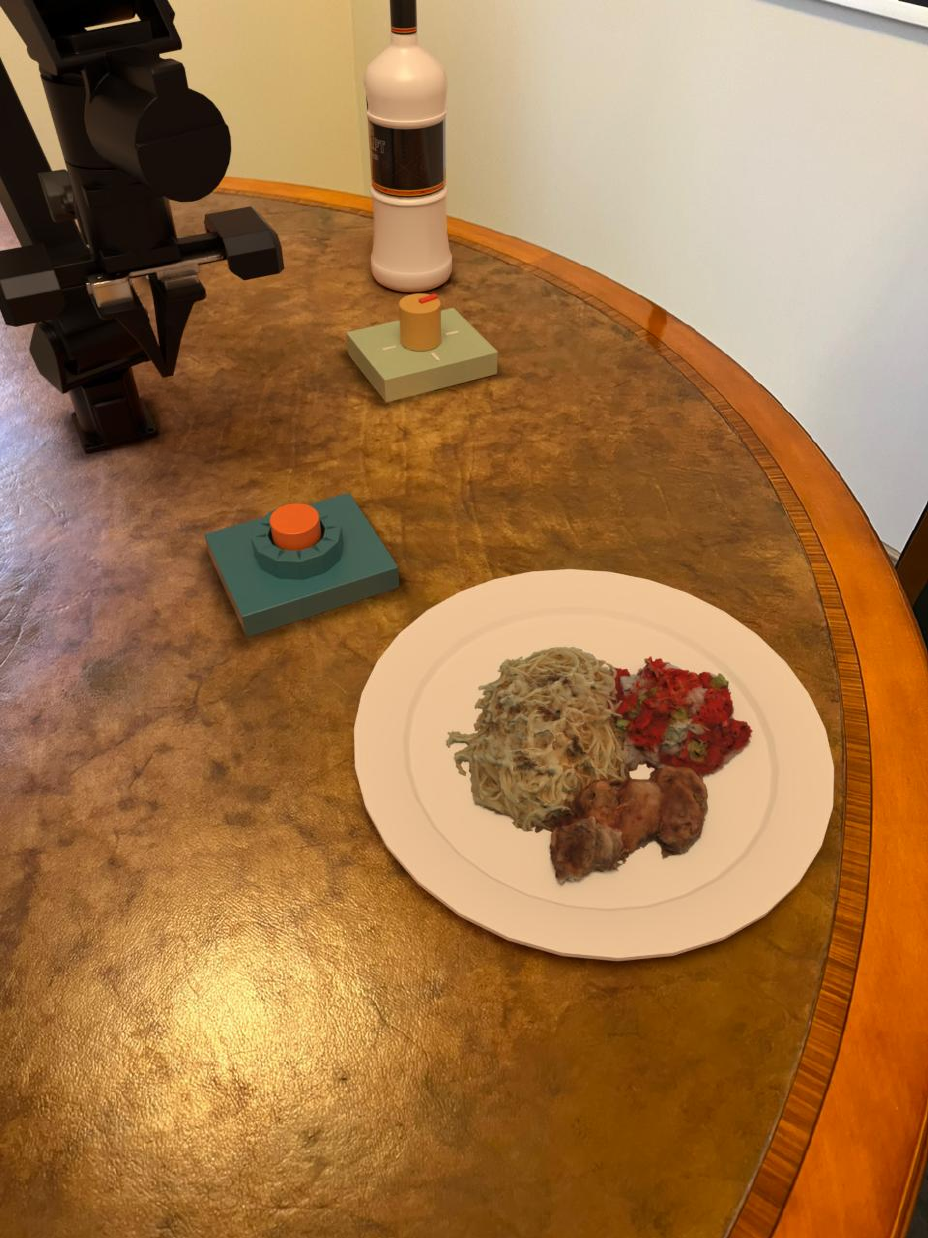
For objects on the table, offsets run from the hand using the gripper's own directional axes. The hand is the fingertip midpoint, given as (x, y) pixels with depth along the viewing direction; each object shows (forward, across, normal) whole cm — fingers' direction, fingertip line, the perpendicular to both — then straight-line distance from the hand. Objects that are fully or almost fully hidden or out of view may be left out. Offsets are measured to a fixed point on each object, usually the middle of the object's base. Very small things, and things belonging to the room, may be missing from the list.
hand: (166, 374), depth 69 cm
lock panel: (+12, -26, -12) cm, 31 cm away
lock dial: (+9, -26, -12) cm, 30 cm away
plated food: (+12, -16, +36) cm, 41 cm away
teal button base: (+12, -5, +12) cm, 18 cm away
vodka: (+12, -33, -30) cm, 46 cm away
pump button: (+8, -5, +12) cm, 15 cm away
